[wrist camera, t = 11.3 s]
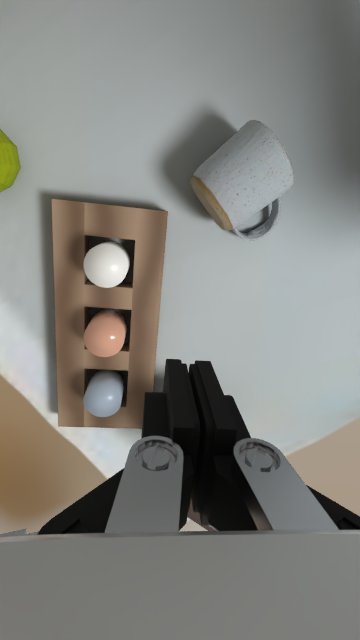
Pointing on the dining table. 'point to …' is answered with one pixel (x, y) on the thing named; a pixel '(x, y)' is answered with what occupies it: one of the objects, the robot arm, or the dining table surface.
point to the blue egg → (104, 393)
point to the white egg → (107, 264)
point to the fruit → (8, 162)
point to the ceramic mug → (244, 179)
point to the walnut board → (105, 306)
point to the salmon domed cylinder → (105, 333)
